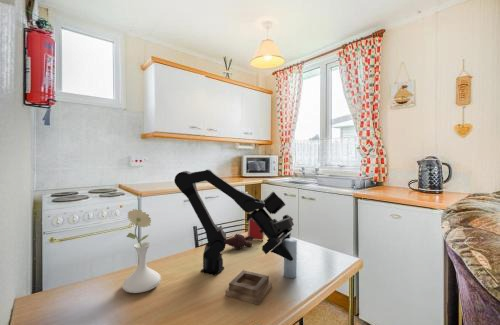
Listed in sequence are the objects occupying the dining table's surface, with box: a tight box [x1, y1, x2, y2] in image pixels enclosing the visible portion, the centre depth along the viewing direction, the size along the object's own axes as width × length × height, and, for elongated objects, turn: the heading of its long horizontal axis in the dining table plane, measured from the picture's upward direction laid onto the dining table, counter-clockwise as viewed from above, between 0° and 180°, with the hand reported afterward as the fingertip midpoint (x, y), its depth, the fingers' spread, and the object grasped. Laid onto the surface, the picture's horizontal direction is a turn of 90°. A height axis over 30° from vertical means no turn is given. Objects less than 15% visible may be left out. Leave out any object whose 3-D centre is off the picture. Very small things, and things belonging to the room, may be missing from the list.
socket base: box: [224, 269, 273, 306], centre depth 75 cm, size 11×11×4 cm
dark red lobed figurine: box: [226, 233, 254, 251], centre depth 109 cm, size 7×7×15 cm
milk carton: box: [246, 209, 266, 241], centre depth 124 cm, size 9×9×20 cm
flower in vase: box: [121, 208, 162, 294], centre depth 77 cm, size 13×11×25 cm
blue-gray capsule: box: [283, 237, 298, 279], centre depth 85 cm, size 4×4×12 cm
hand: (294, 257), depth 84 cm, fingers closed on blue-gray capsule, 4 cm apart
